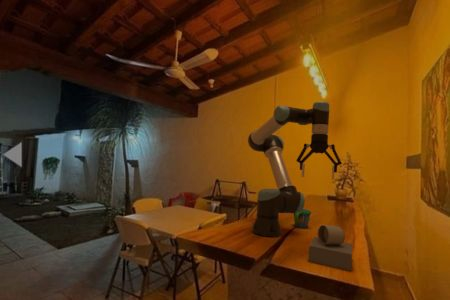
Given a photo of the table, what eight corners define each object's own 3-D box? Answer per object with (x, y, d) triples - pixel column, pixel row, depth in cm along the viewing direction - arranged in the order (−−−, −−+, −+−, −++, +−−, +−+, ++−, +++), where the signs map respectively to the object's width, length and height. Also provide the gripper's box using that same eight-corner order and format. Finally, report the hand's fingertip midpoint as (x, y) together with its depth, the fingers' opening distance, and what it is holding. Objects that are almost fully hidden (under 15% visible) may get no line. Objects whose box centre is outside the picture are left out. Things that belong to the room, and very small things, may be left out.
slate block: (308, 261, 99) (309, 245, 99) (313, 250, 112) (314, 236, 112) (351, 271, 92) (351, 254, 92) (351, 258, 105) (352, 243, 105)
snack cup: (299, 223, 163) (300, 207, 164) (315, 227, 156) (316, 210, 156) (286, 226, 152) (287, 209, 153) (302, 230, 145) (303, 212, 145)
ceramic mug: (346, 247, 100) (346, 227, 100) (328, 247, 98) (328, 227, 99) (329, 239, 110) (329, 221, 111) (312, 239, 108) (313, 221, 109)
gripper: (291, 132, 124) (289, 176, 123) (348, 133, 112) (346, 181, 111) (295, 134, 130) (292, 175, 130) (348, 135, 119) (346, 180, 118)
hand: (317, 178), depth 120 cm, fingers open, 13 cm apart
